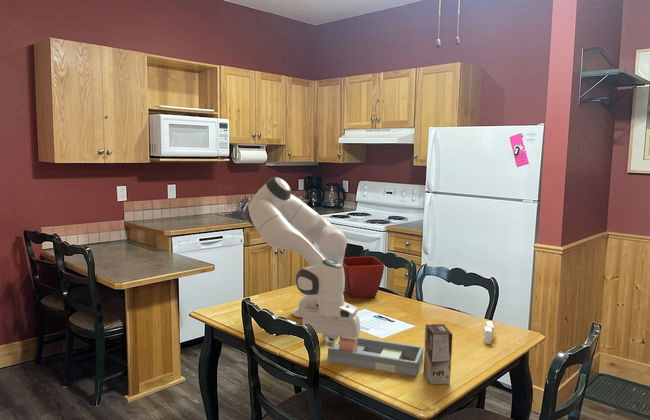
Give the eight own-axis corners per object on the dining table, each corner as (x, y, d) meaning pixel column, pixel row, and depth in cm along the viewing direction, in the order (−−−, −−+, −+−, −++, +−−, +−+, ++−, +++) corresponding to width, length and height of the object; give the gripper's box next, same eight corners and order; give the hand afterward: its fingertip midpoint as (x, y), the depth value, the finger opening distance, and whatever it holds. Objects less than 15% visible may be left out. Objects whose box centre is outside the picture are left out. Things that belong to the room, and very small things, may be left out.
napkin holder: (485, 331, 201) (485, 317, 200) (510, 339, 192) (511, 325, 191) (462, 339, 192) (463, 325, 191) (488, 348, 183) (489, 333, 182)
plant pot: (345, 300, 236) (346, 266, 234) (336, 289, 254) (337, 257, 252) (384, 299, 240) (385, 265, 238) (372, 288, 258) (373, 256, 256)
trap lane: (327, 361, 168) (327, 349, 167) (340, 346, 181) (340, 334, 181) (416, 376, 158) (417, 363, 158) (423, 359, 171) (423, 346, 171)
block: (338, 354, 168) (339, 340, 167) (343, 349, 173) (343, 335, 172) (353, 356, 166) (353, 342, 166) (357, 351, 171) (357, 337, 170)
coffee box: (451, 384, 153) (453, 334, 151) (430, 384, 153) (433, 334, 151) (441, 371, 162) (443, 323, 160) (422, 371, 162) (424, 323, 160)
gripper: (299, 306, 170) (298, 345, 172) (356, 314, 163) (355, 354, 165) (306, 301, 176) (305, 338, 178) (362, 308, 169) (360, 347, 171)
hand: (330, 346), depth 171 cm, fingers closed
